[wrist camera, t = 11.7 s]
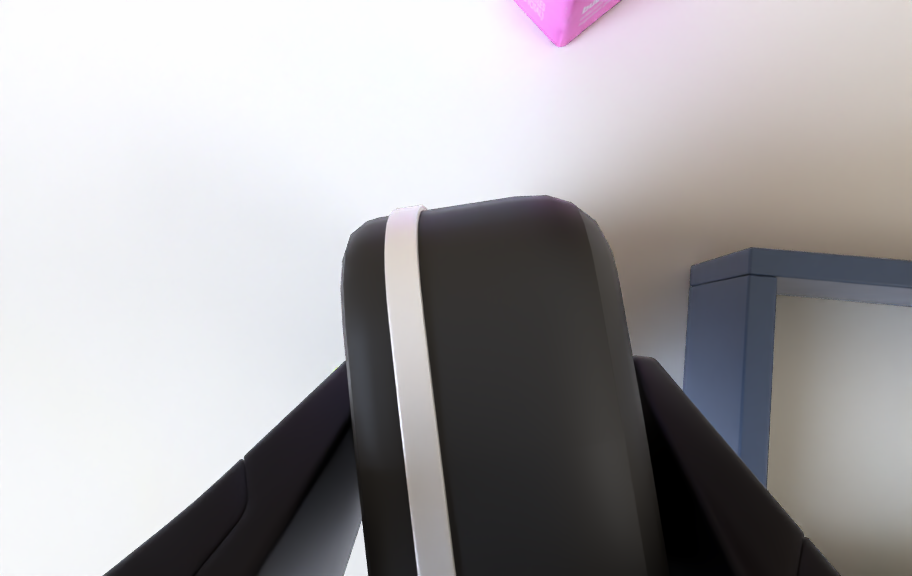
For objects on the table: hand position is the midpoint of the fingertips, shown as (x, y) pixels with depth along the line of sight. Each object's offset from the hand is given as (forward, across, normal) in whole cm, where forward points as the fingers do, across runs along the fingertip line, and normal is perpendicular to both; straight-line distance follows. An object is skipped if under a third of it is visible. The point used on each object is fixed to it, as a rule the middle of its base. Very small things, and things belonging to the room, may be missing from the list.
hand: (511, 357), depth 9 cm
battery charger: (+5, 0, +6) cm, 8 cm away
